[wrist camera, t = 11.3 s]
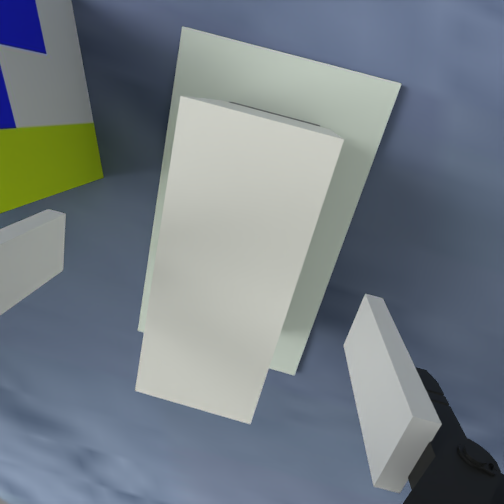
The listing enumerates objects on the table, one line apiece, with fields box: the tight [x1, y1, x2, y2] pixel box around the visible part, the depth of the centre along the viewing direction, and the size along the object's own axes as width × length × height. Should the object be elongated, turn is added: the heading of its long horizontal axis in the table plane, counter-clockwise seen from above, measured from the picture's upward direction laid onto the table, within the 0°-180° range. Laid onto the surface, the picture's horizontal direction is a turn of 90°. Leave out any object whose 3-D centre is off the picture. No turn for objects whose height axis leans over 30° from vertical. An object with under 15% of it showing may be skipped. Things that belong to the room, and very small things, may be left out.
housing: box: [135, 96, 344, 424], centre depth 19 cm, size 14×6×7 cm, turn 166°
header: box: [138, 26, 401, 375], centre depth 21 cm, size 12×20×7 cm, turn 166°
